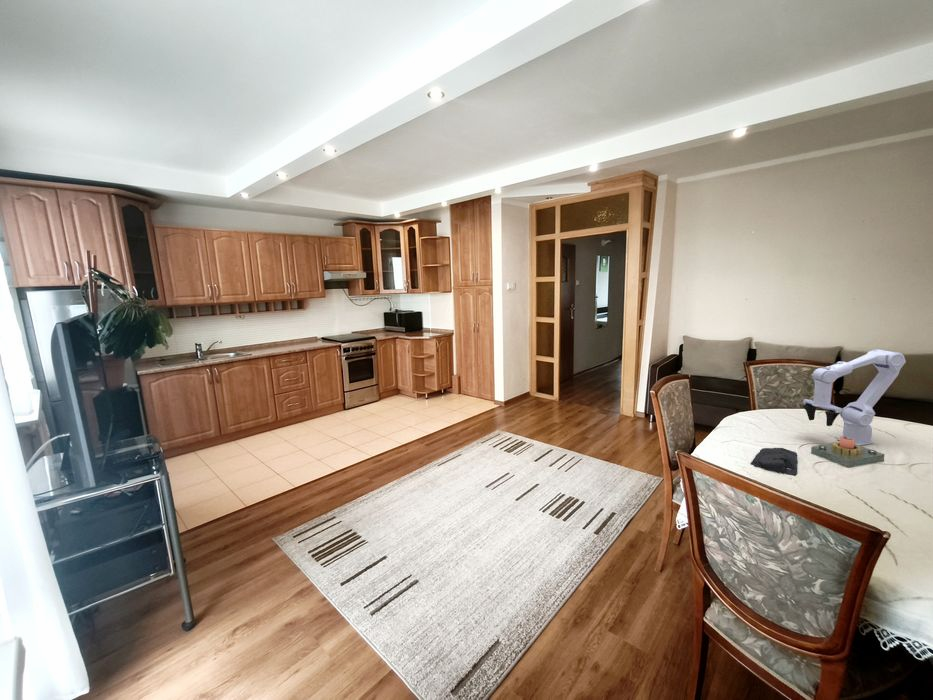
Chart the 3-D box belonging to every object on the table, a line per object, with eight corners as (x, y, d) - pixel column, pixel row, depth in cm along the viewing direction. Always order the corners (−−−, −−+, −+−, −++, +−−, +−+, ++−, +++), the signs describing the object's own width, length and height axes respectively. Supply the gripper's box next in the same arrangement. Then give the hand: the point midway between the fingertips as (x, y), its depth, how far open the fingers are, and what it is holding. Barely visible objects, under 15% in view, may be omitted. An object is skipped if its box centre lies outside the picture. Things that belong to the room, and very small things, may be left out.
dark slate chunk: (804, 458, 161) (804, 448, 160) (795, 478, 147) (796, 467, 146) (760, 449, 172) (760, 439, 172) (748, 466, 158) (748, 456, 157)
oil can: (844, 450, 161) (846, 433, 159) (855, 455, 157) (858, 437, 155) (835, 451, 160) (837, 434, 159) (847, 456, 156) (849, 438, 154)
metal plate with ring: (844, 447, 167) (845, 436, 166) (883, 461, 153) (885, 449, 152) (811, 453, 164) (811, 442, 163) (847, 467, 151) (848, 456, 150)
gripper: (798, 391, 175) (796, 418, 178) (833, 400, 161) (830, 429, 164) (811, 389, 176) (809, 416, 179) (846, 398, 162) (843, 427, 165)
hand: (820, 422), depth 171 cm, fingers open, 7 cm apart
